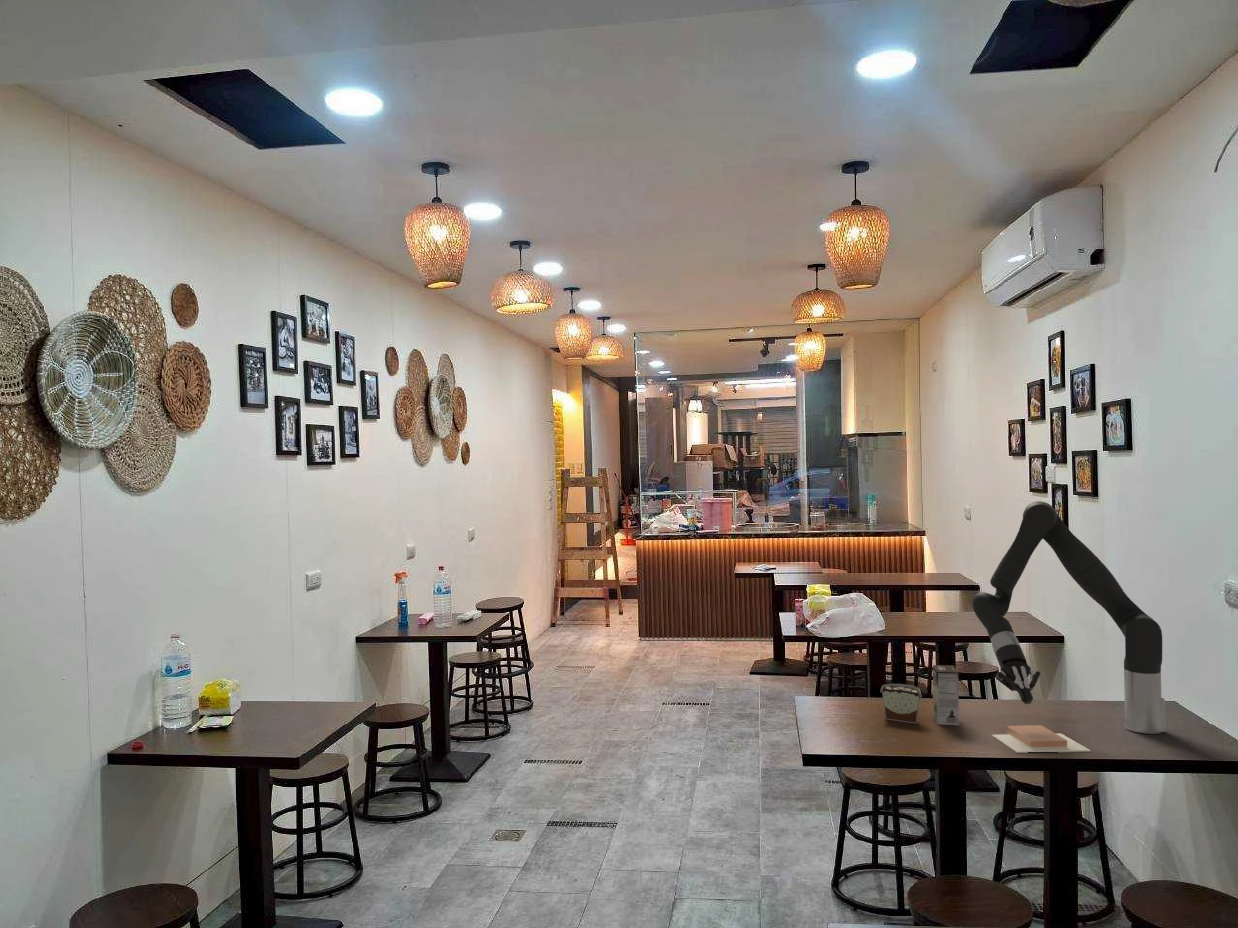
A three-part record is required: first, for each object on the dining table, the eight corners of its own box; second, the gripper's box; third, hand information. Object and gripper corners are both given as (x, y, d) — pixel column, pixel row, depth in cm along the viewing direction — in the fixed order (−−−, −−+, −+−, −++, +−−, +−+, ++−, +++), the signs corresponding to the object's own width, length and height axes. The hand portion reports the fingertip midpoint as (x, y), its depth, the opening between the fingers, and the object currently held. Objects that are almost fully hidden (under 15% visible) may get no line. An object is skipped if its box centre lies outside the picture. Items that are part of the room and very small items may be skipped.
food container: (926, 719, 263) (926, 686, 263) (921, 724, 258) (921, 690, 258) (885, 713, 270) (885, 681, 270) (880, 718, 264) (879, 685, 264)
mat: (1061, 734, 246) (1061, 733, 246) (1090, 751, 231) (1090, 750, 231) (991, 735, 245) (991, 734, 245) (1016, 753, 230) (1016, 751, 230)
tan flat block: (1041, 725, 247) (1067, 740, 233) (1041, 732, 247) (1067, 747, 233) (1006, 725, 247) (1030, 740, 233) (1006, 732, 247) (1030, 748, 233)
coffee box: (932, 716, 266) (931, 664, 266) (954, 717, 265) (953, 664, 265) (937, 724, 257) (936, 671, 257) (960, 725, 256) (959, 671, 256)
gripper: (989, 643, 254) (1009, 695, 241) (1034, 642, 254) (1056, 695, 241) (982, 657, 259) (1001, 709, 247) (1025, 656, 259) (1047, 708, 247)
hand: (1028, 702), depth 244 cm, fingers closed
